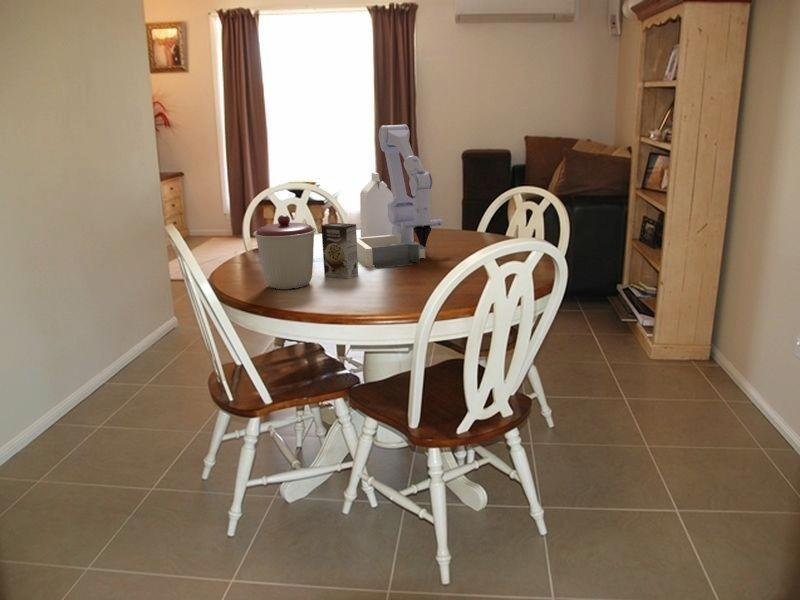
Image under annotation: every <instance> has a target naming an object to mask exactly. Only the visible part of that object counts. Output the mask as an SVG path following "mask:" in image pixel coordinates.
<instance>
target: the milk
mask: <svg viewBox="0 0 800 600" xmlns="http://www.w3.org/2000/svg"><path fill="white" fill-rule="evenodd" d="M359 198H360V200H359V201H360V202H359V203H360V205H359V206H360V211H359V212H360V238H362V237H373V236H384V235H392V227H393V224H392V223H391V222H390V221H389V219H388V203H389V202H390V201H391V200H392V199H393V193H392V190H390V189H389V188H388V184H387V183H386V182H384V181H383V180H382V181H381V180H380V174H379V173H378V172H371V179H370V180H369V182H368V183H367V184H365V186H364V187H363V188H362V189H361V191H360V193H359Z"/></svg>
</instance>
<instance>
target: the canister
mask: <svg viewBox="0 0 800 600" xmlns="http://www.w3.org/2000/svg"><path fill="white" fill-rule="evenodd" d="M277 222H278V223H272V224H267V225H264V226H261V227H259V228H258V229H257V230H256V231H254V232H253V236H254V237H255V240H256V244H257V245H256V246H257V250H258V254H259V258H260V263H261V268H262V271H263V277H264V281H265V282H266V284H267V285H268V286H269V287H270V288H271V289H275V288H276V289H275V290H292V288H295V289H299V287H300V288H303V287H305V286H307V285H309V284H310V282H311V280H312V277H313V268H314V266H313V265H314V264H313V263H314V242H315V240H314V239H315V233H316V231H317V228H315V227H314V226H312V225H310V224H308V223H302V222H291V218H290V217H289V215H286V214H281V215H279V216H278V217H277Z"/></svg>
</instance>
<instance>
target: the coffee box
mask: <svg viewBox="0 0 800 600" xmlns="http://www.w3.org/2000/svg"><path fill="white" fill-rule="evenodd" d="M320 226H321V227H320V228H321V243H322V257H323V258H322V259H323V271H324V272H323V274H324V277H326V276H330V277H329V278H336V277H338V278H339V279H340V278H341V279H347V278H348V279H347V280H349V279H352V278H353V276H354V277H356V276H359V262H358V261H359V260H358V258H357V238H358V237H357V223H346V222H344V223H343V222H341V223H340V222H331V223H326V224H321V225H320Z"/></svg>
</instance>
